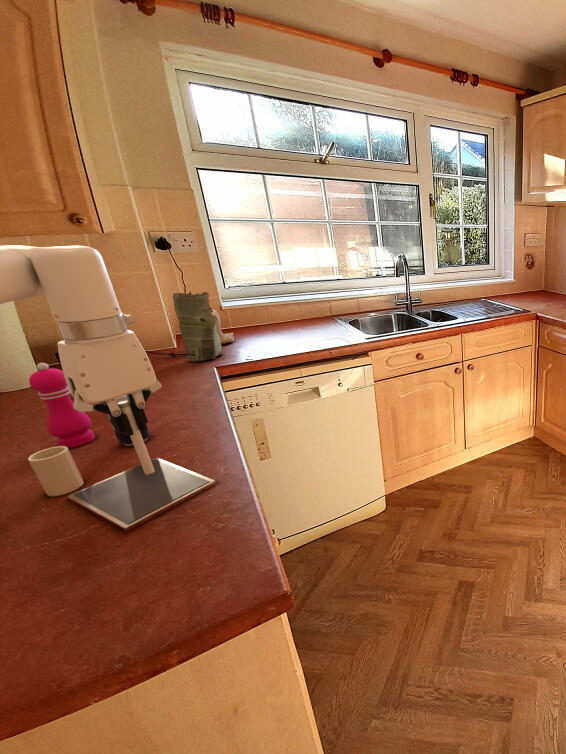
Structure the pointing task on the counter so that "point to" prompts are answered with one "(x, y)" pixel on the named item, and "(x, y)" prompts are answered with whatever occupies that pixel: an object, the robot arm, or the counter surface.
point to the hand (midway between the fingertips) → (133, 430)
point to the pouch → (197, 326)
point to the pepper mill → (61, 408)
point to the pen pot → (56, 470)
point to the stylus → (137, 438)
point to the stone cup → (223, 337)
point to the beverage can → (124, 438)
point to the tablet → (141, 493)
